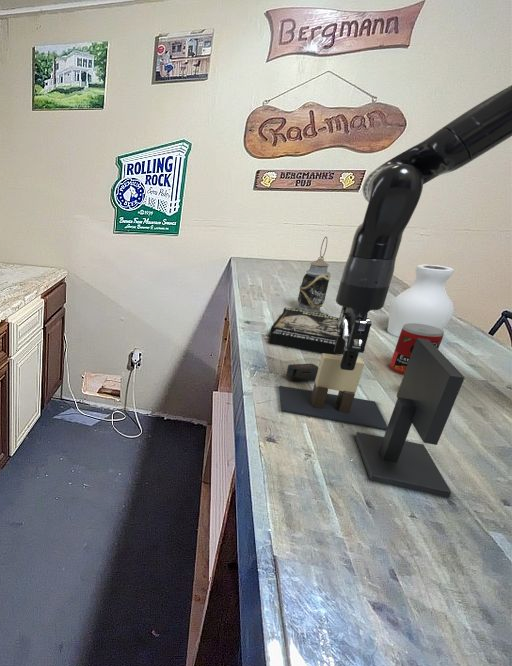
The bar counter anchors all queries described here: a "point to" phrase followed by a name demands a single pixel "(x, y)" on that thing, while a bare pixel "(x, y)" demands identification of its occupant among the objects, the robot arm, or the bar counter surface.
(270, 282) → the bar counter surface
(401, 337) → the canned food
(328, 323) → the decorative sign
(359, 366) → the small wooden bench
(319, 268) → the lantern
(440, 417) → the monitor
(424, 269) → the vase
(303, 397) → the mat
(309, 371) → the wireless earbuds
